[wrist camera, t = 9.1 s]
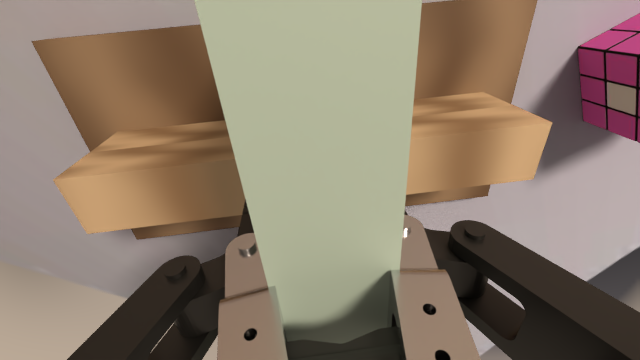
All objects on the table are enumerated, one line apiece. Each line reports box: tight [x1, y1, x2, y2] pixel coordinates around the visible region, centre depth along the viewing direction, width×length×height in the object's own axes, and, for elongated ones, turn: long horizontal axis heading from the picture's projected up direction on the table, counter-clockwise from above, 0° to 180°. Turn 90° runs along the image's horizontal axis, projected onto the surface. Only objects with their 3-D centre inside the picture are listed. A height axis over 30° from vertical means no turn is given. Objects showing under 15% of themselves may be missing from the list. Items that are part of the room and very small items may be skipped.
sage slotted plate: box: [194, 0, 422, 344], centre depth 13 cm, size 16×3×12 cm, turn 5°
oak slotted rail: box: [32, 0, 552, 239], centre depth 17 cm, size 26×13×6 cm, turn 95°
